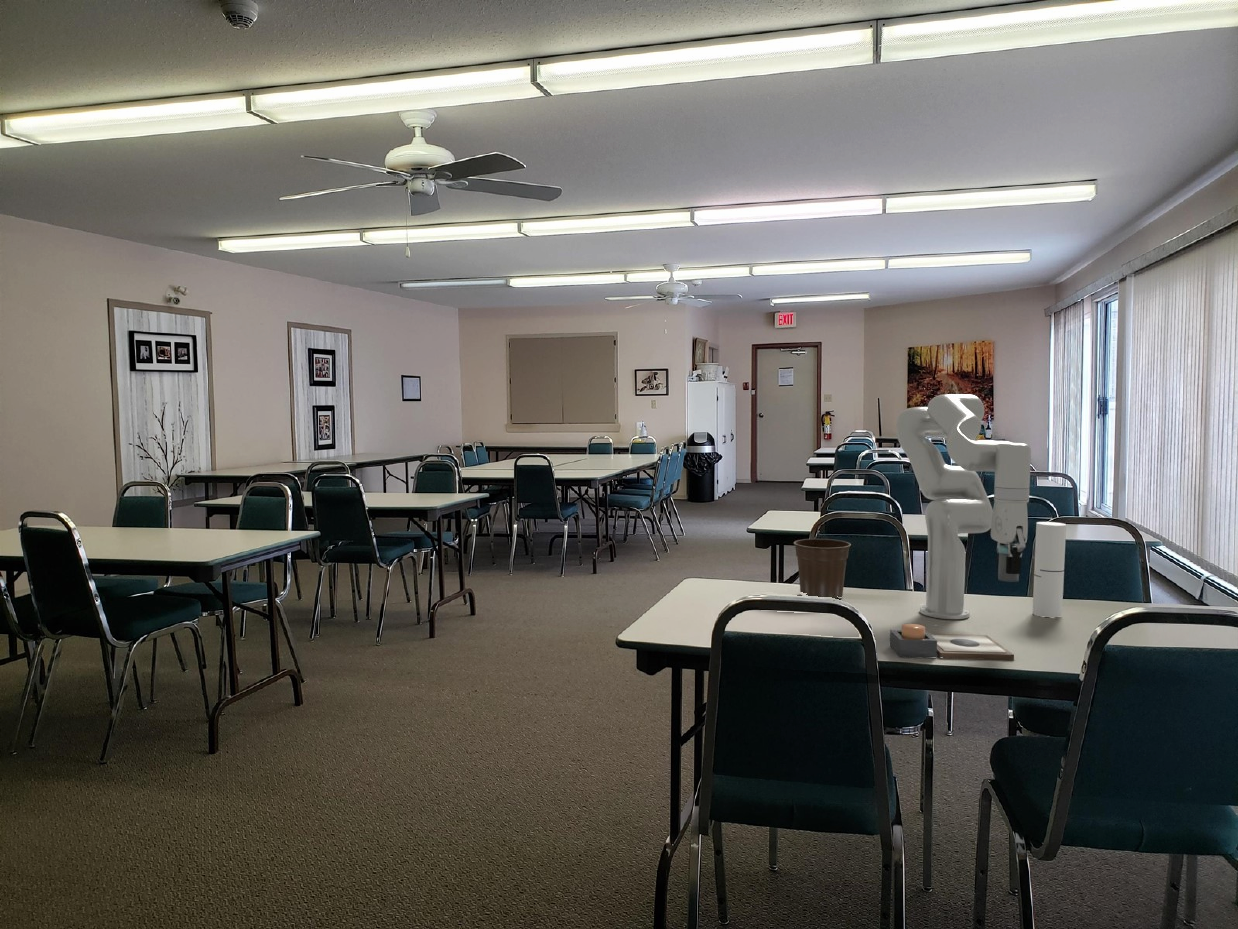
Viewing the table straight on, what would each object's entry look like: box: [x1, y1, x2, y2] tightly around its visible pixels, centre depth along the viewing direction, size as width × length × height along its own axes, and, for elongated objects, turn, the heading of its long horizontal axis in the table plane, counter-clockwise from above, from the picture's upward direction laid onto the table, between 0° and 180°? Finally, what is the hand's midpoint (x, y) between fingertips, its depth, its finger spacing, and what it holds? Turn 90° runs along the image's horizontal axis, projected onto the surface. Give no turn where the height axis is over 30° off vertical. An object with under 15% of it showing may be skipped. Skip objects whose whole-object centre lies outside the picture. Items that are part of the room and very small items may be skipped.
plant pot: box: [793, 538, 852, 600], centre depth 246 cm, size 16×16×16 cm
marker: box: [997, 544, 1020, 583], centre depth 199 cm, size 5×5×8 cm
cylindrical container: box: [1032, 521, 1067, 617], centre depth 227 cm, size 7×7×25 cm
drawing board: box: [929, 633, 1015, 661], centre depth 195 cm, size 16×16×2 cm
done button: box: [901, 623, 926, 639], centre depth 191 cm, size 5×5×4 cm
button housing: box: [889, 629, 938, 658], centre depth 191 cm, size 8×8×4 cm
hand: (1008, 570), depth 199 cm, fingers closed on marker, 4 cm apart
